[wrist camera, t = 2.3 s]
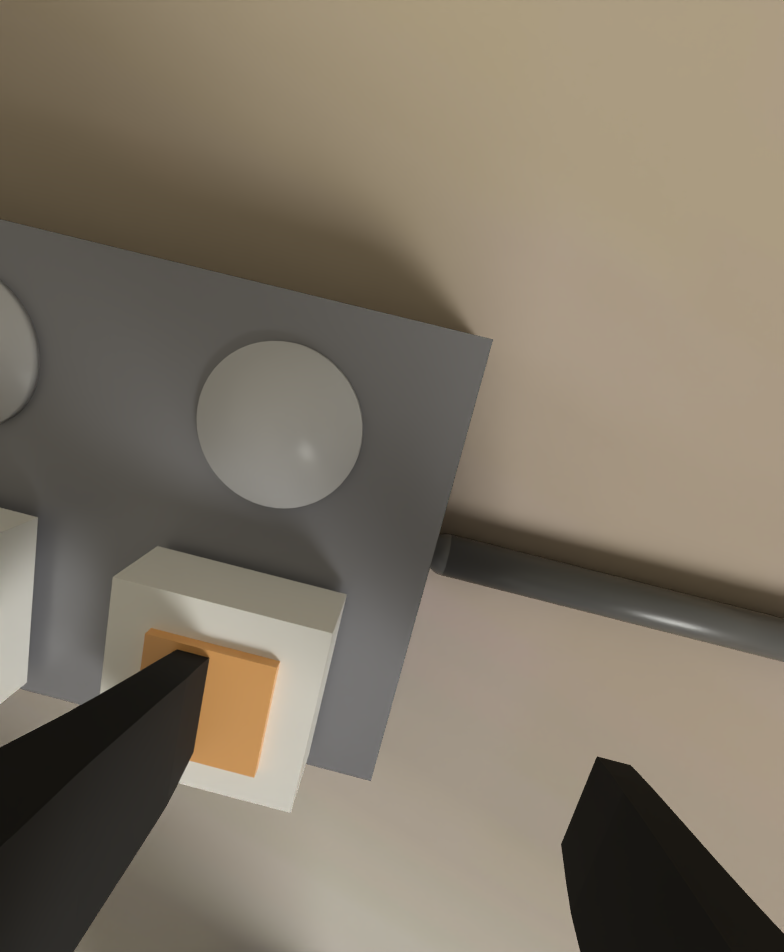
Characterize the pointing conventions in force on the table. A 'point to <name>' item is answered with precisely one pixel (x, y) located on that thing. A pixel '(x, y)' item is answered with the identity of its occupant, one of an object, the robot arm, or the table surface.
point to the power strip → (258, 466)
